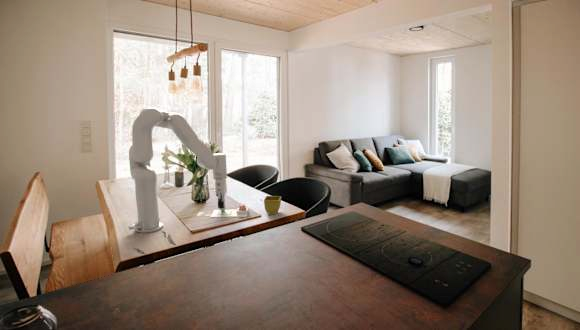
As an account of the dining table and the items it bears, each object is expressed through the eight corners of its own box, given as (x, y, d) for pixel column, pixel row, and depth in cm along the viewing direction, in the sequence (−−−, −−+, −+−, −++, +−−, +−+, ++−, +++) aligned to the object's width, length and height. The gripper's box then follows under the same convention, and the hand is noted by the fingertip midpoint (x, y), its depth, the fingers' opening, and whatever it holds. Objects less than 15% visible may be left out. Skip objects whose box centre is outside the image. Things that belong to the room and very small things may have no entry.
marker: (223, 212, 177) (220, 194, 175) (218, 212, 179) (216, 193, 177) (227, 210, 180) (225, 192, 178) (223, 210, 181) (220, 191, 179)
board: (210, 218, 171) (209, 213, 171) (214, 211, 183) (214, 206, 182) (247, 217, 172) (246, 212, 172) (248, 210, 184) (248, 205, 183)
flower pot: (281, 211, 183) (281, 196, 181) (279, 216, 174) (279, 200, 173) (266, 210, 184) (266, 195, 182) (264, 215, 175) (263, 200, 173)
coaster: (196, 217, 173) (196, 216, 173) (199, 212, 180) (199, 212, 180) (209, 216, 173) (209, 215, 173) (211, 212, 180) (211, 211, 180)
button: (239, 211, 176) (238, 206, 175) (239, 209, 179) (239, 204, 179) (245, 211, 176) (245, 206, 175) (245, 209, 179) (245, 204, 179)
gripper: (224, 178, 167) (226, 211, 171) (228, 172, 184) (230, 202, 187) (210, 178, 167) (212, 211, 170) (215, 172, 183) (217, 202, 186)
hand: (221, 206), depth 179 cm, fingers closed on marker, 3 cm apart
